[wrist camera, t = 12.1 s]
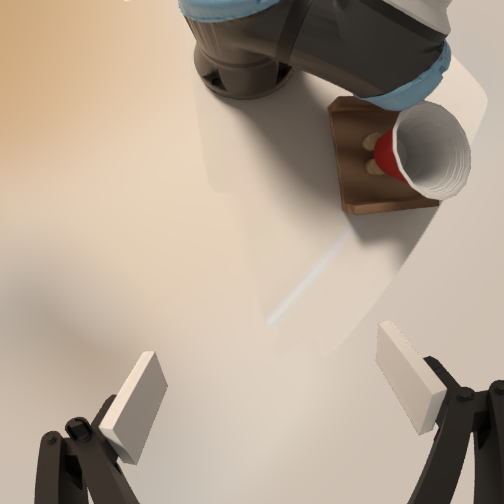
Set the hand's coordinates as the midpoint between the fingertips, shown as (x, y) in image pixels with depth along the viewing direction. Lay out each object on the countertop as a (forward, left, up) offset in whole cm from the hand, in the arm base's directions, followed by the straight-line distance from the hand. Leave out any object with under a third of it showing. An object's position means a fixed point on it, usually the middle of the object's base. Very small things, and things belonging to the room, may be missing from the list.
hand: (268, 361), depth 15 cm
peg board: (-12, +20, -29) cm, 37 cm away
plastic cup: (-12, +20, -24) cm, 33 cm away
